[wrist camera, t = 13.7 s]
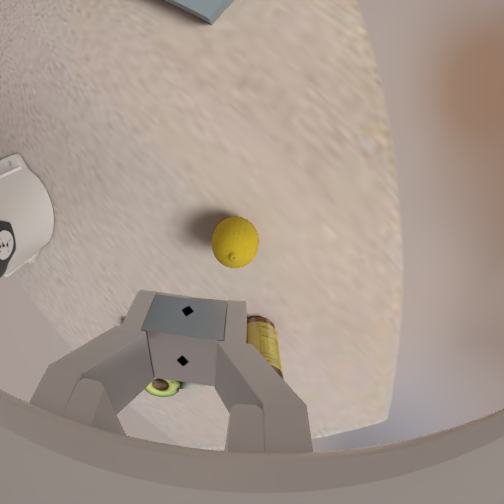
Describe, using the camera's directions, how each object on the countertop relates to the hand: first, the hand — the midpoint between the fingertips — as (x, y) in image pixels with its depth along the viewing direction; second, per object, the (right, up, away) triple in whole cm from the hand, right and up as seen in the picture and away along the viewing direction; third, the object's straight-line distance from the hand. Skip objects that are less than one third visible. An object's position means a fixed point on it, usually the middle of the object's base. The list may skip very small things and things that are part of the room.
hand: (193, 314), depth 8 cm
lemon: (0, +5, +31) cm, 31 cm away
